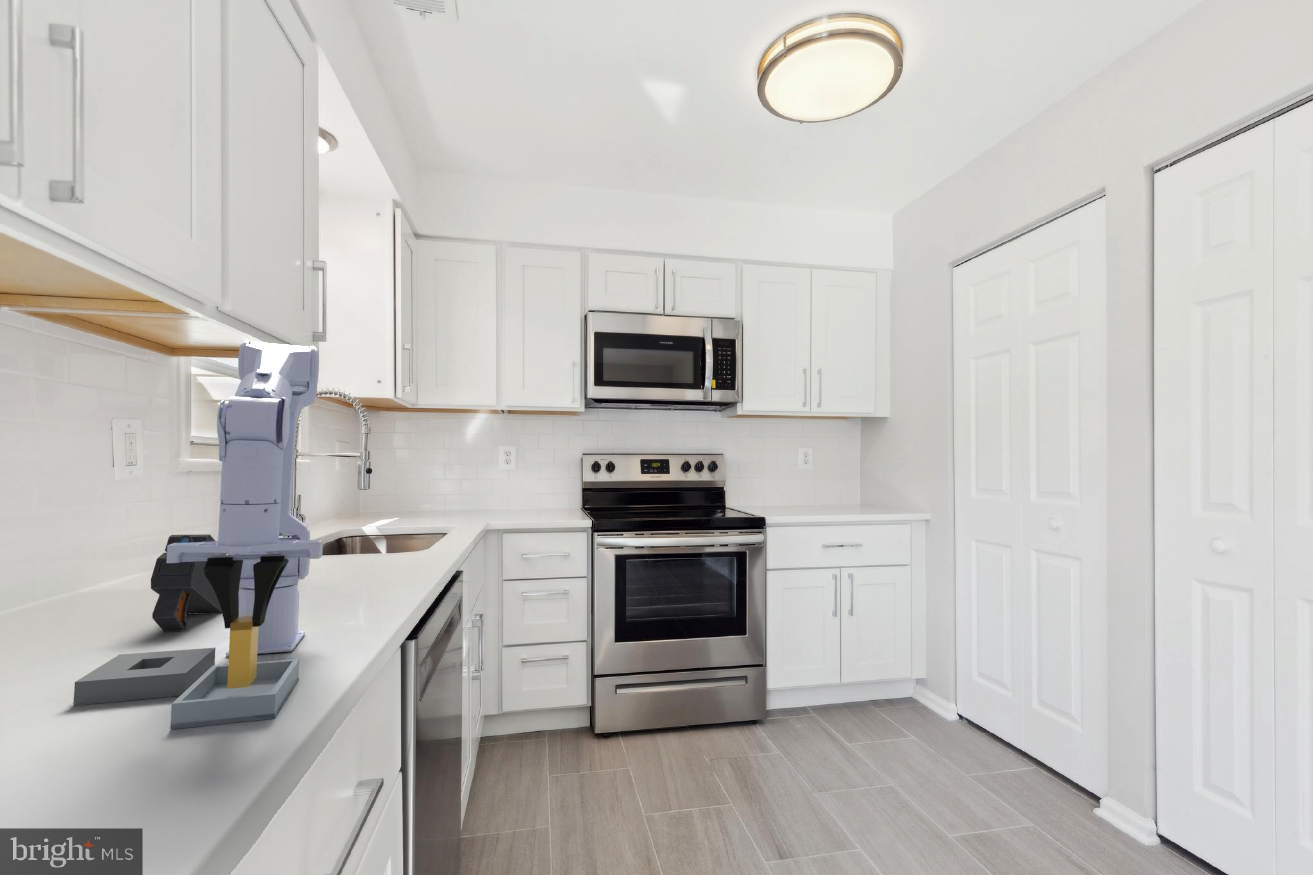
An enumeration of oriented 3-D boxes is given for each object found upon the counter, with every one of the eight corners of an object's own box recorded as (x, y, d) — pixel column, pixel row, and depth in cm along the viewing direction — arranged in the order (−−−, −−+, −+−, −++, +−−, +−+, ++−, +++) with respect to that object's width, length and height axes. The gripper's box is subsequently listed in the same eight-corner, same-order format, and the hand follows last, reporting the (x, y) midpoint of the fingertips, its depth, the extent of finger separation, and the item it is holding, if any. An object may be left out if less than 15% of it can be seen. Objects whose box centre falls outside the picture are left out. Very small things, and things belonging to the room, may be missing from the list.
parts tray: (211, 687, 72) (212, 665, 72) (298, 679, 75) (299, 658, 75) (170, 729, 61) (171, 703, 61) (274, 718, 64) (275, 693, 64)
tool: (133, 621, 89) (163, 526, 97) (182, 653, 105) (205, 569, 112) (182, 619, 91) (208, 526, 99) (223, 650, 106) (243, 568, 114)
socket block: (118, 674, 75) (119, 654, 75) (214, 667, 79) (215, 647, 79) (73, 705, 66) (74, 681, 66) (184, 695, 69) (185, 672, 69)
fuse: (235, 679, 69) (238, 616, 69) (256, 677, 70) (259, 615, 70) (227, 688, 66) (230, 623, 66) (248, 686, 67) (251, 622, 67)
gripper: (157, 505, 62) (149, 640, 62) (317, 505, 67) (311, 629, 67) (184, 501, 69) (177, 622, 68) (327, 501, 74) (322, 614, 73)
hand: (244, 625), depth 68 cm, fingers closed on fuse, 2 cm apart
